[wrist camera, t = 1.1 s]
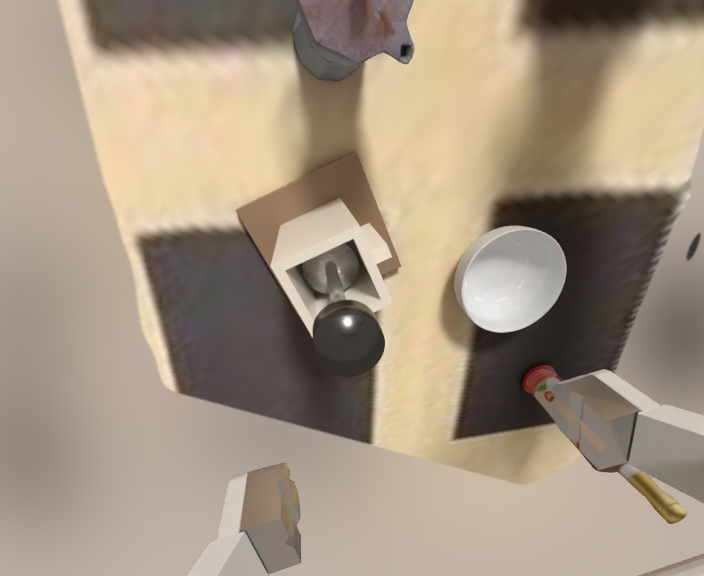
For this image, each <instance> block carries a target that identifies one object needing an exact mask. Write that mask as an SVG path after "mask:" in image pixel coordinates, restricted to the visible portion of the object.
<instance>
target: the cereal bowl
mask: <svg viewBox="0 0 704 576" xmlns="http://www.w3.org/2000/svg"><path fill="white" fill-rule="evenodd" d="M566 270H567V266H566V259H565V255H564V253H563V250H562V248H561V247H560V245H559V244H558V242H557V241H556V240H555V239H554V238H552V237H551V236H550V235H548V234H546V233H545V232H542V231H540V230H537V229H533V228H530V227H524V226H505V227H501V228H497V229H494V230H492V231H489V232H487V233H486V234H484V235H482V236H481V237H479V238H478V239H477V240H475V241H474V242H473V243H472V244H471V245H470V246H469V247H468V248H467V250H466V251H465V252H464V254H463V255H462V257H461V259H460V261H459V263H458V266H457V269H456V272H455V277H454V289H455V290H454V291H455V295H456V299H457V301H458V304H459V305H460V307H461V309H462V311H463V312H464V313H465V315H467V316H468V318H469V319H470V320H471V321H472V322H474V323H475V324H476V325H478V326H479V327H481V328H483V329H485V330H488V331H492V332H499V333H505V332H512V331H517V330H520V329H522V328H525V327H527V326H529V325H531V324H532V323H534V322H536V321H537V320H538V319H540V318H541V317H542V316H543V315H544V314H545V313H546V312H547V311H548V310H549V309H550V308H551V307H552V306H553V305H554V303H555V302H556V300H557V299H558V297H559V295H560V293H561V291H562V288H563V286H564V283H565V279H566Z"/></svg>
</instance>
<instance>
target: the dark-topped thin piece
mask: <svg viewBox="0 0 704 576" xmlns="http://www.w3.org/2000/svg"><path fill="white" fill-rule="evenodd" d="M358 268H359V265H358V259H357V256H356V254H355V252H354V251H353V250H352V248H351V247H350V246H349V245H347V244H346V243H343V244H341V245H339V246H337V247H335V248H332V249H330V250H328V251H326V252H324V253H322V254H320V255H318V256H315V257H313V258H311V259H309V260H307V261H305V262H303V263H302V271H303V275H304V278H305V280H306V282H307V283H308V284H309V285H310V286H311V287H312V288H313V289H315V290H317V291H319V292H321V293H327V294H329V295H330V300H331V304H329V305H327V306H326V307H324V308H323V309H322V310H321V311H320V312H319V313H318V315H317V316H316V318H315V320H314V323H313V328H312V330H313V348H314V356H315V359H316V361H317V362H318V364H319V365H320V366H321V367H322V368H323V369H324V370H325V371H327V372H328V373H330V374H333V375H336V376H341V377H351V376H356V375H360V374H362V373H365V372H367V371H368V370H370V369H371V368H372V367H374V366H375V365H376V364H377V363H378V361H379V360H380V358H381V357H382V355H383V352H384V348H385V339H384V335H383V333H382V330H381V328H380V326H379V323H378V321H377V319H376V316H375V314H374V313H373V311H372V310H371V309H370V308H369V307H368V306H366V305H365V304H363V303H361V302H359V301H355V300H346V297H345V293H344V290H345V289H347V288H348V287H349V286H350V285H351V284H352V283H353V282H354V280H355V279H356V277H357V274H358Z"/></svg>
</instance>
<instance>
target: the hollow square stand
mask: <svg viewBox="0 0 704 576" xmlns="http://www.w3.org/2000/svg"><path fill="white" fill-rule="evenodd" d="M236 212H237V214H238V215H239V217H240V219H241V220H242V222H243V224H244V226H245V227H246V229H247V231H248V232H249V234H250V236H251V237H252V239H253V241H254V242H255V244H256V246H257V247H258V249H259V251H260V252H261V254H262V256H263V258H264V259H265V261H266V263H267V264H268V266H269V268H270V269H271V271H272V273H273V274H274V276H275V278H276V279H277V281H278V283H279V284H280V286H281V288H282V290H283V291H284V293H285V295H286V296H287V298H288V300H289V301H290V303H291V305H292V306H293V308H294V310H295V311H296V313H297V314H299V315H300V317H301V319H302V320H303V322H304V324H305V326H306V327H307V329H308V331H309V332H310V334H311V336H312V337H313V330H312V328H313V323H314V320H315V318H316V316H317V315H318V313H319V312H320V311H321V310H322V309H323V308H324V307H326V306H327V305H329V304H331V300H330V295H329V294H327V293H321V292H319V291H317V290H315V289H313V288H312V287H311V286H310V285H309V284H308V283H307V282H306V280H305V278H304V275H303V271H302V263H303V262H305V261H307V260H309V259H311V258H313V257H315V256H318V255H320V254H322V253H324V252H326V251H328V250H330V249H332V248H335V247H337V246H339V245H341V244H343V243H346V244H347V245H349V246H350V247H351V248H352V250H353V251H354V252H355V254H356V256H357V259H358V265H359V268H358V274H357V277H356V279H355V280H354V282H353V283H352V284H351V285H350V286H349V287H348V288H347V289H345V290H344V293H345V297H346V300H355V301H359V302H361V303H363V304H365V305H366V306H368V307H369V308H370V309H371V310H372V311H373V313H374V312H376V311H378V310H380V309H382V308H384V307H387V306H389V305H391V304H393V302H392V299H391V297H390V295H389V293H388V290H387V288H386V286H385V283H384V281H383V279H382V275H384V274H386V273H388V272H391V271H393V270H395V269H397V268H399V267H401V264H400V262H399V259H398V257H397V254H396V252H395V249H394V247H393V244H392V242H391V239H390V237H389V234H388V231H387V229H386V226H385V224H384V221H383V219H382V216H381V214H380V211H379V209H378V206H377V204H376V201H375V199H374V196H373V194H372V191H371V189H370V186H369V184H368V181H367V179H366V176H365V174H364V171H363V169H362V166H361V164H360V161H359V159H358V156H357V154H356V152H353V153H351V154H349V155H347V156H345V157H343V158H341V159H339V160H337V161H335V162H333V163H331V164H329V165H326V166H324V167H322V168H320V169H318V170H316V171H314V172H312V173H310V174H308V175H306V176H304V177H301V178H299V179H297V180H295V181H293V182H291V183H289V184H287V185H285V186H283V187H281V188H279V189H277V190H274V191H272V192H270V193H268V194H266V195H264V196H262V197H260V198H258V199H256V200H254V201H252V202H250V203H247V204H245V205H243V206H241V207H239V208H237V209H236Z"/></svg>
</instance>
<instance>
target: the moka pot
mask: <svg viewBox="0 0 704 576" xmlns="http://www.w3.org/2000/svg"><path fill="white" fill-rule="evenodd" d="M413 1H414V0H296V2H297V5H298V9H299V10H298V13H297V16H296V19H295V24H294V29H293V39H294V43H295V46H296V50H297V54H298V57H299V60H300V62H301V63H302V64H303V65H304V66H305V67H306V68H307V69H308V70H309V71H310V72H311V73H312V74H313V75H314V76H315V77H317V78H318V79H323V80H331V81H340V80H342V79H344V78H345V77H347V76H348V75H350V74H351V73H352V72H353V71H355V70H356V69H357V68H358V67H359V65H360V63H362V62H364V61H366V60H368V59H369V58H371V57H373V56H375V55H377V54H379V53H383V52H384V53H386V54H388V55H390V56H391V57H393V58H395V59H396V60H397V61H399V62H401V63H403V64H408V63H409V61H410V60H411V59H412V57H413V53H414V44H413V42H412V39H411V37H410V34H409V31H408V28H407V22H406V21H407V18H408V14H409V12H410V9H411V7H412V4H413Z"/></svg>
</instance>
